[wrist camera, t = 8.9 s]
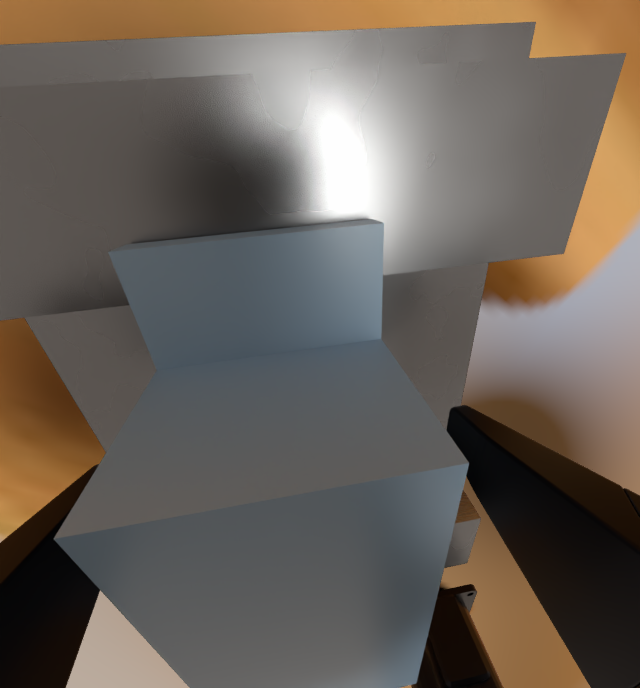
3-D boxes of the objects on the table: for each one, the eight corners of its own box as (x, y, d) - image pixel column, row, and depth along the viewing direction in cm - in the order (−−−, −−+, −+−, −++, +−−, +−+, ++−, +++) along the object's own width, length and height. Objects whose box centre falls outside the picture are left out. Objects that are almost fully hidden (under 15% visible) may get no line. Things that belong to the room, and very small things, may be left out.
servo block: (184, 220, 8) (-122, 347, 2) (333, 205, 8) (516, 268, 2) (258, 487, 13) (247, 751, 7) (347, 471, 14) (409, 709, 7)
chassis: (436, 489, 16) (483, 576, 13) (170, 539, 15) (138, 651, 11) (517, 33, 7) (744, -105, 4) (-104, 61, 6) (-608, -102, 3)
